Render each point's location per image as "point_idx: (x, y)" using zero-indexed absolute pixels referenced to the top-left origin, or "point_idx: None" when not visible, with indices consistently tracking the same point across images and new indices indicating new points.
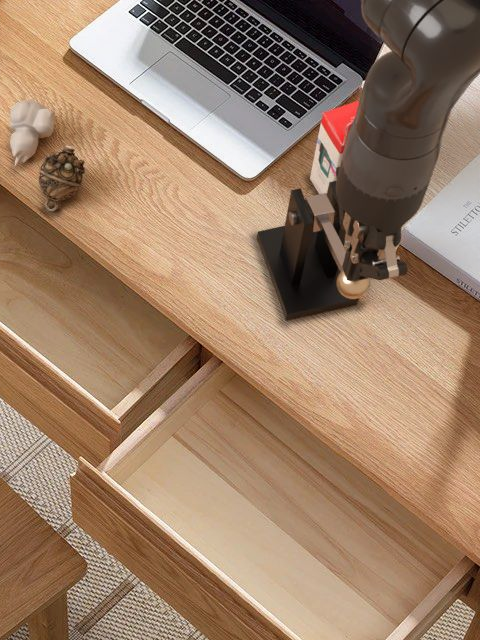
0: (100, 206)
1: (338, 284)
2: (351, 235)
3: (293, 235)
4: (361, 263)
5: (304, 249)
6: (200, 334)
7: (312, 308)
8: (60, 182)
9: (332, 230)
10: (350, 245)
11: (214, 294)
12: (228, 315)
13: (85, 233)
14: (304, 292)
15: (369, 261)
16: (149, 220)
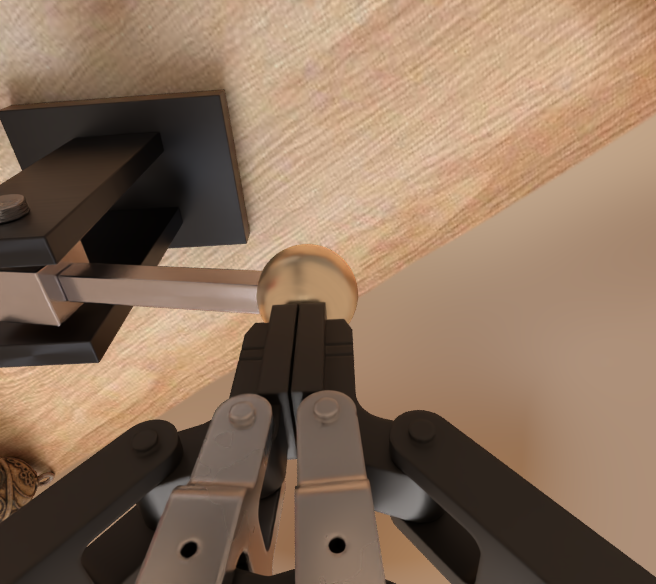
0: (35, 429)
1: None
2: (271, 569)
3: None
4: (417, 547)
5: None
6: None
7: (236, 196)
8: (12, 508)
9: (107, 287)
10: (282, 496)
11: (189, 325)
12: (230, 314)
13: (85, 448)
14: (198, 203)
15: (406, 509)
16: (52, 381)
